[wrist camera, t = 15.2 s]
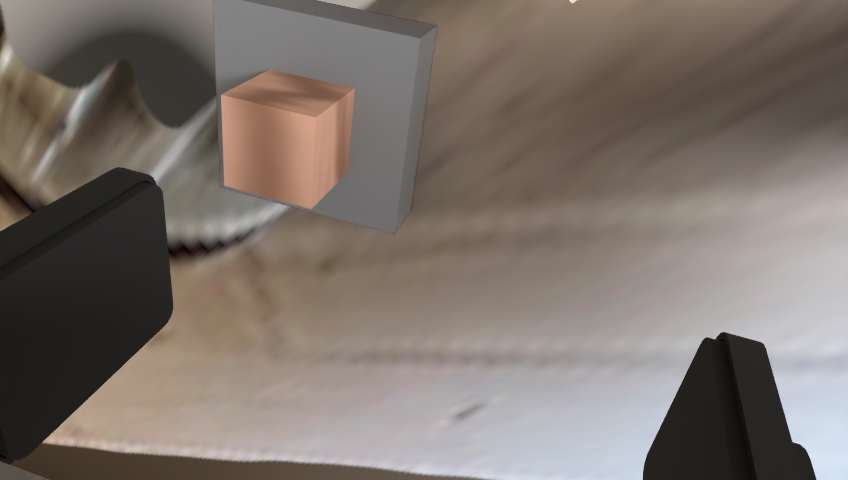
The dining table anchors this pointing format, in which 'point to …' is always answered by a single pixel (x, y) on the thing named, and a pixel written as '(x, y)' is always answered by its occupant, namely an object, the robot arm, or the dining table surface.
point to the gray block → (348, 66)
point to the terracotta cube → (286, 136)
